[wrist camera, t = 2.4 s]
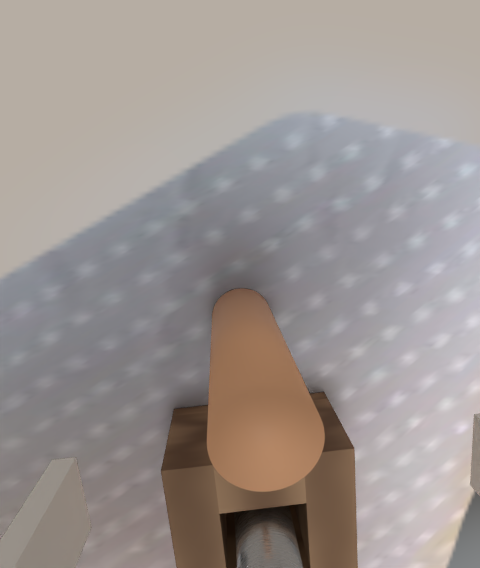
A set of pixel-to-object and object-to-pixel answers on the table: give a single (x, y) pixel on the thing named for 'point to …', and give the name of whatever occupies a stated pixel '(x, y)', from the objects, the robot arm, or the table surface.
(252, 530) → the steel pin
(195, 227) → the table surface
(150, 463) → the table surface
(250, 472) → the peg
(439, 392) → the table surface
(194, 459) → the hole block
